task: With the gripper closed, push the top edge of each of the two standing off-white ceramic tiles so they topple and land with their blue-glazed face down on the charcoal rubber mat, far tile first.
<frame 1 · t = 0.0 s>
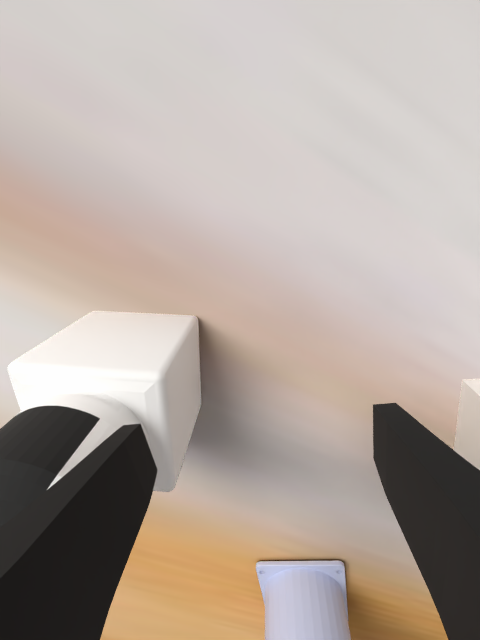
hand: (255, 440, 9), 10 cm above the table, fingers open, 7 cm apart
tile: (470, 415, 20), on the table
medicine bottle: (151, 358, 21), on the table
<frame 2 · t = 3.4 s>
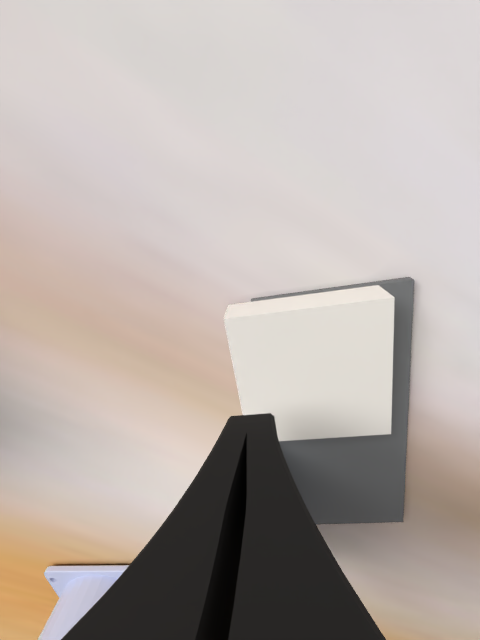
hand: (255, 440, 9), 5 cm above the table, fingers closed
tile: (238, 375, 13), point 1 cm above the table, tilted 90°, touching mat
mat: (336, 421, 15), on the table
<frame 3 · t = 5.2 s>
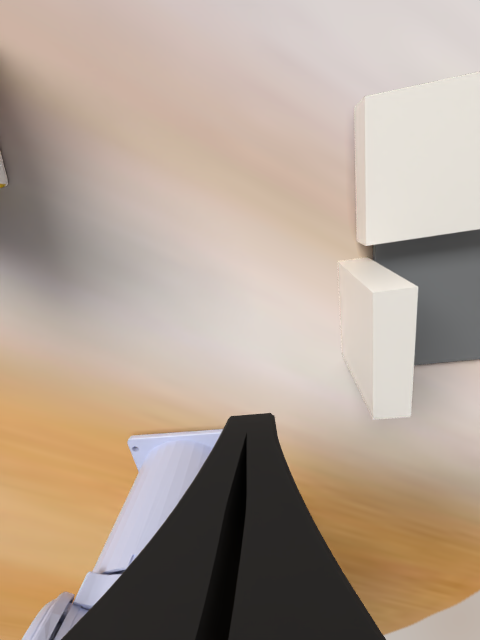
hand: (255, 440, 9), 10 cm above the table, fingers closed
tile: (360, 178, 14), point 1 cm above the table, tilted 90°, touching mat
mat: (435, 247, 16), on the table
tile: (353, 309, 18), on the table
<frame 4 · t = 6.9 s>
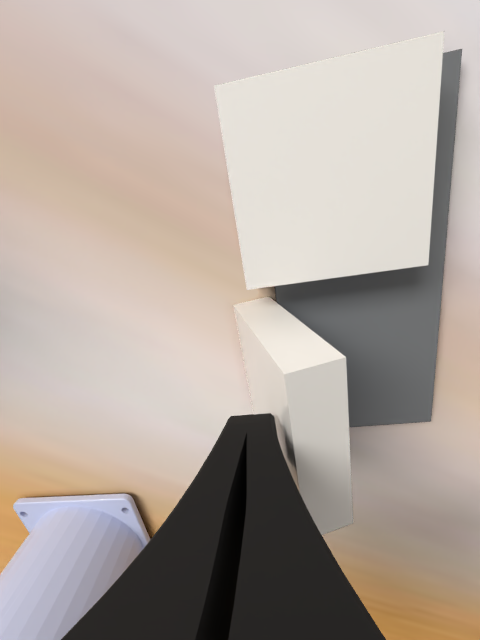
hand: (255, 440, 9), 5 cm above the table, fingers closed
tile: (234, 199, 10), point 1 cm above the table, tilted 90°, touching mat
mat: (353, 285, 12), on the table
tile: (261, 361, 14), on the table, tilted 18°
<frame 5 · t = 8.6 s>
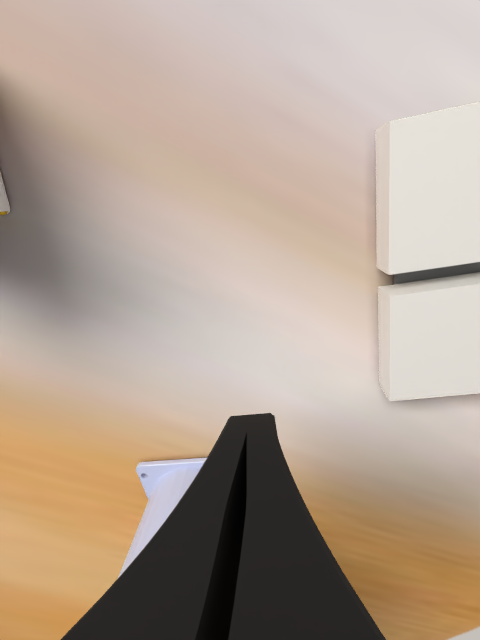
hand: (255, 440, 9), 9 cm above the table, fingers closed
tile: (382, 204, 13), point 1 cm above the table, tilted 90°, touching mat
mat: (459, 271, 15), on the table
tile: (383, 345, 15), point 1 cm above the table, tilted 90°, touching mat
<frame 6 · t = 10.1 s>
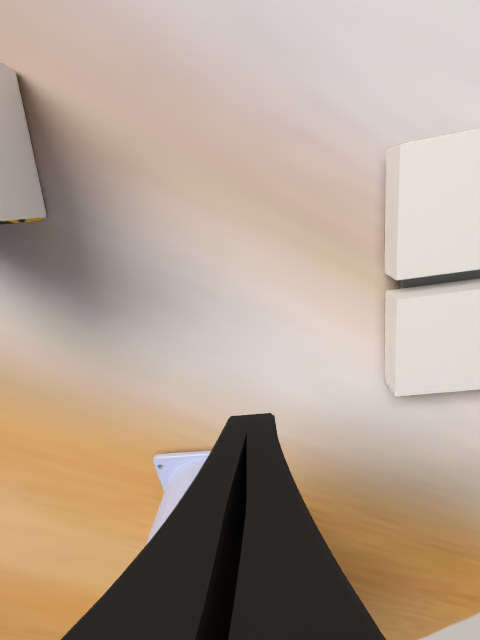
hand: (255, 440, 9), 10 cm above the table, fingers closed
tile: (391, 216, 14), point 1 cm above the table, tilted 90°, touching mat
mat: (460, 277, 16), on the table
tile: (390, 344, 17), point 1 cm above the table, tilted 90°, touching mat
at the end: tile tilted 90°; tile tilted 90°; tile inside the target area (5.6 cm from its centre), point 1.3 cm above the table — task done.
